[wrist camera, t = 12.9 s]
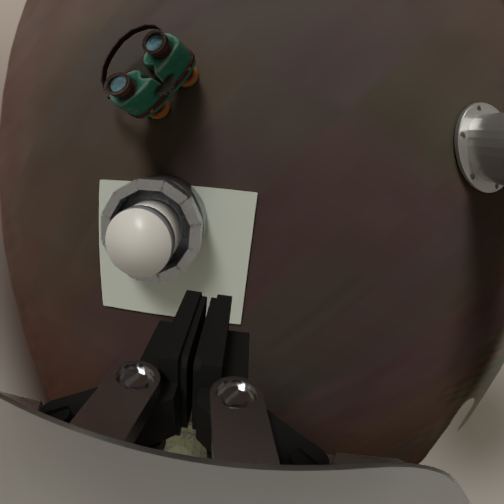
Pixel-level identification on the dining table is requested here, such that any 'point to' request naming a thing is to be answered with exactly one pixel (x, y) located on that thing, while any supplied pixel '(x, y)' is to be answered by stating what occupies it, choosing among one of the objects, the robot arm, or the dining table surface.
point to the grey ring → (182, 202)
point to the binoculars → (144, 87)
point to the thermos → (186, 443)
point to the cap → (143, 237)
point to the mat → (202, 267)
